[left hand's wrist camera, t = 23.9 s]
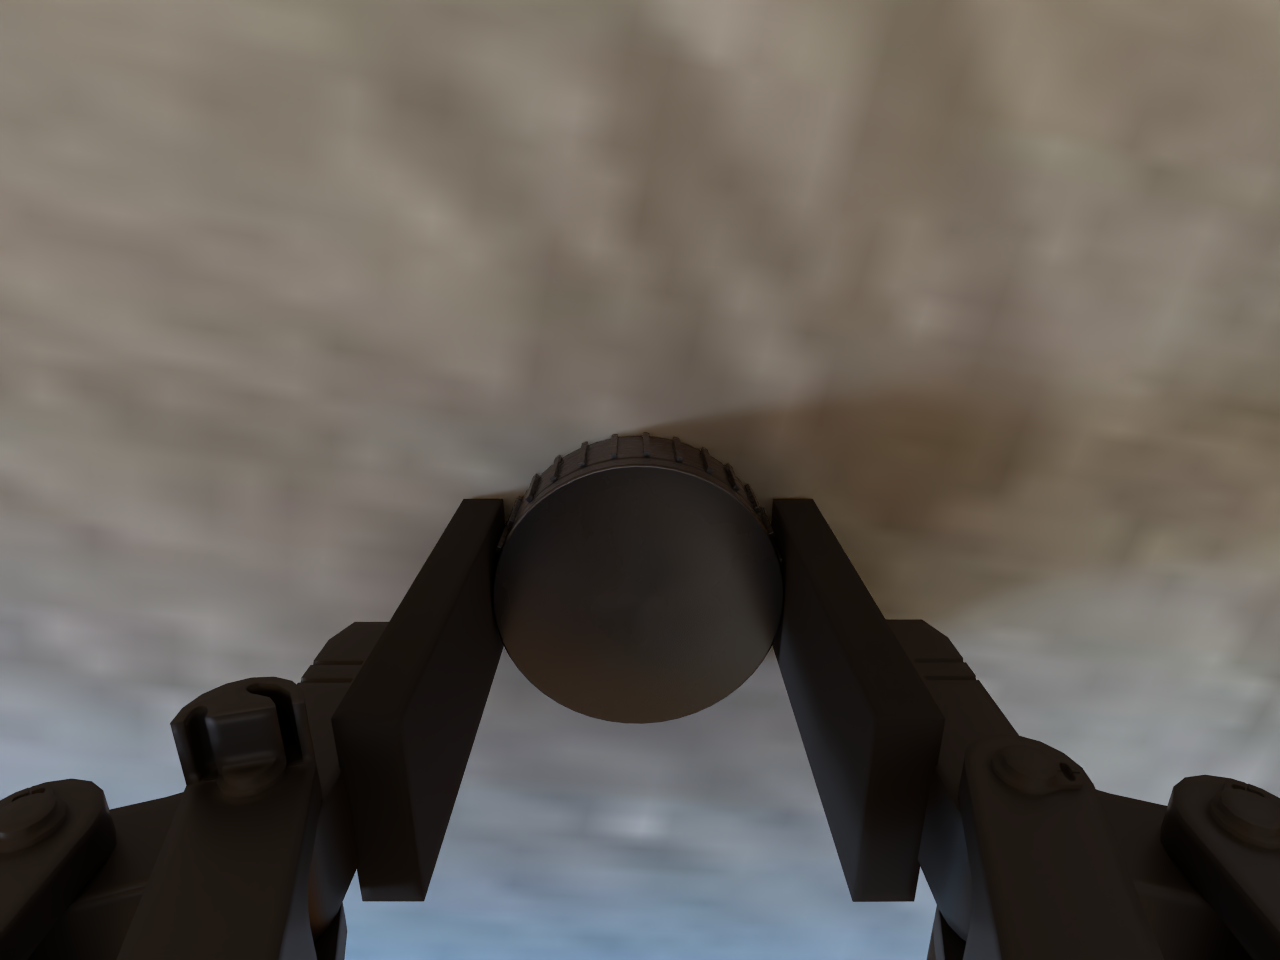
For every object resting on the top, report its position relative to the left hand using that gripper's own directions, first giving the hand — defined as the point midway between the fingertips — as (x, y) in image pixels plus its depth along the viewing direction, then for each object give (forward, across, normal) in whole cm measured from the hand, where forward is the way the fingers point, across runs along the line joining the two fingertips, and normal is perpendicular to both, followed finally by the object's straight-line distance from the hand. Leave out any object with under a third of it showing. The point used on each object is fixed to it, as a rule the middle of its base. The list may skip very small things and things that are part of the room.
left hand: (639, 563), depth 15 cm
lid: (-1, 0, 0) cm, 1 cm away
